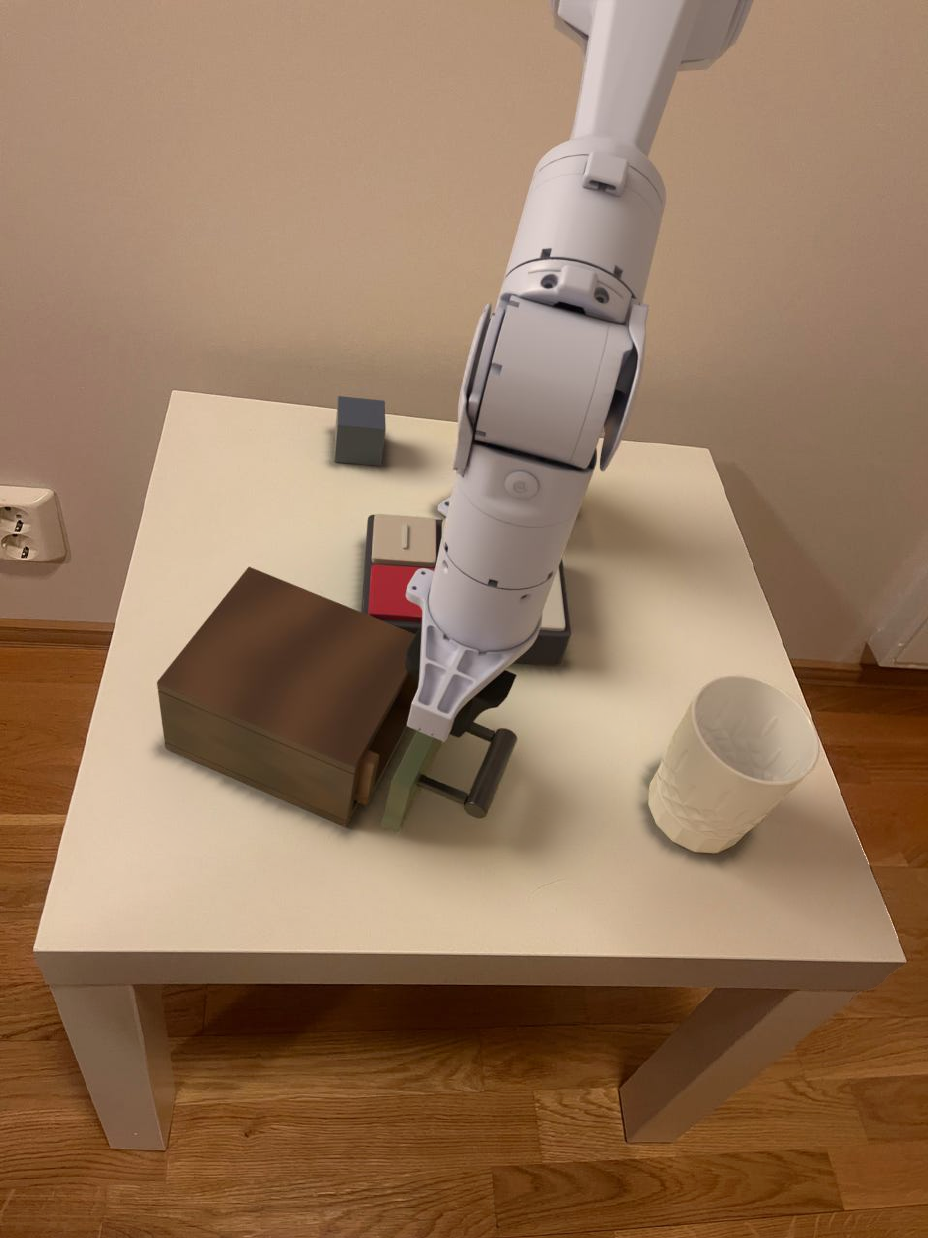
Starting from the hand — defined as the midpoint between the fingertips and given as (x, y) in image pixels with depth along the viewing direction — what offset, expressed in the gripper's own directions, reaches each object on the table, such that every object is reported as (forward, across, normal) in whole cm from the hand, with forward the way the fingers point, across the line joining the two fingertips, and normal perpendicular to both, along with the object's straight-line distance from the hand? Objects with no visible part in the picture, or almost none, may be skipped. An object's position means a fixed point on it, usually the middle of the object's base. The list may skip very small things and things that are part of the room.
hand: (453, 710), depth 53 cm
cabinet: (+8, 0, -10) cm, 13 cm away
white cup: (+9, -6, +17) cm, 20 cm away
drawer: (+8, 0, -4) cm, 8 cm away
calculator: (+8, -16, -4) cm, 18 cm away
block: (+8, -28, -18) cm, 35 cm away
